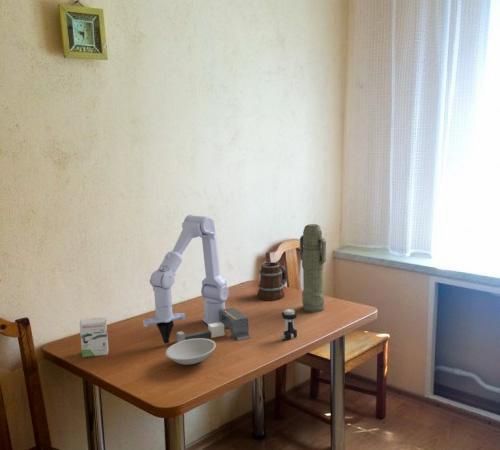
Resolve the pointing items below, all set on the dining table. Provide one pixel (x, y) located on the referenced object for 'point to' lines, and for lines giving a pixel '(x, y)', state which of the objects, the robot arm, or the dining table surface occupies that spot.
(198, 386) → the dining table surface
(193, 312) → the dining table surface
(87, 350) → the ink box
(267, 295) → the mug
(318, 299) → the thermos
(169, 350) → the dish
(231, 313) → the motor housing
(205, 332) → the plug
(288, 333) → the push button
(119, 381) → the dining table surface
